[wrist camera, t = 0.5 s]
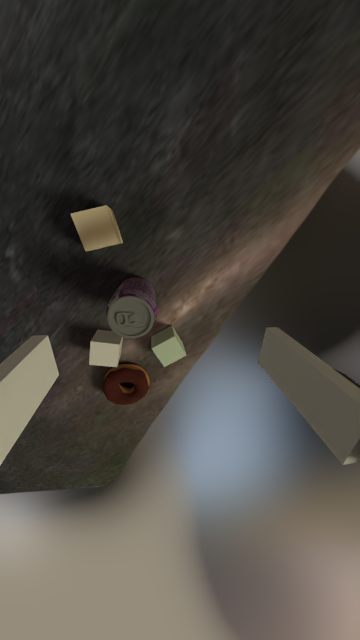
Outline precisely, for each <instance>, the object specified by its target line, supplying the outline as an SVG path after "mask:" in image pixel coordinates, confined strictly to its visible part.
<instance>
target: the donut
mask: <svg viewBox="0 0 360 640" xmlns="http://www.w3.org/2000/svg"><path fill="white" fill-rule="evenodd" d="M122 382H131V383H133V384H134V387H132V388H128V387H124V386H121V385H120V383H122ZM149 382H150V381H149V376H148V374H147V373H146V371H145V370H144V369H143V368H141V367H140V366H138V365H134V364H121V365H118V366H117V367H113V368H112V369H110V370H109V371H108V372H107V373H106V375H105V377H104V381H103V391H104V394H105V396H106V398H107V399H108V400H110V401H111V402H113V403H115V404H117V405H118V404H120V405H126V404H132V403H134V402H137V401H138V400H140V399H142V398H143V397H144V396H145V395H146V393H147V391H148V388H149Z"/></svg>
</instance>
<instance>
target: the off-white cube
mask: <svg viewBox="0 0 360 640" xmlns="http://www.w3.org/2000/svg"><path fill="white" fill-rule="evenodd" d="M122 339H123V337H121V336H119V335H118V334H116V333H115V332H114V331H107V330H99V329H98V330H97V331H96V333H95V335H94V336H93V338H92V340H91V342H90V360H89V365H98V366H109V367H117V366H118V362H119V358H120V354H121V348H122Z"/></svg>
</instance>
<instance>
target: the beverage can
mask: <svg viewBox="0 0 360 640" xmlns="http://www.w3.org/2000/svg"><path fill="white" fill-rule="evenodd" d="M156 318H157V306H156V294H155V290H154V288H153V286H152V285H151V284H150V283H149V282H148V281H147V280H145V279H143V278H139V277H132V278H128V279H126V280H124V281H123V282H122V283H121V284H120V286H119V287H118V289H117V290H116V292H115V293H114V295H113V296H112V298H111V299H110V301H109V303H108V305H107V320H108V323H109V326H110V327H111V329H112V330H113V331H114V332H115V333H116V334H118V335H119V336H121V337H124V338H130V339H133V338H139V337H141V336H144V335H145V334H147V333H148V332H149V331H150V329H151V328H152V326H153V325H154V323H155V321H156Z"/></svg>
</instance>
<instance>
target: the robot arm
mask: <svg viewBox="0 0 360 640" xmlns="http://www.w3.org/2000/svg"><path fill="white" fill-rule="evenodd" d="M258 363H259V364H260V365H261V367H262V368H263V369H264V370H265V371H266V373H267V374H268V375H269V376H270V377H271V379H272V380H273V381H274V382H275V383H276V385H277V386H278V387H279V388H280V389H281V391H282V392H283V393H284V394H285V395H286V397H287V398H288V399H289V400H290V401H291V403H292V404H293V405H294V406H295V408H296V409H297V410H298V411H299V412H300V414H301V415H302V416H303V417H304V418H305V420H306V421H307V422H308V423H309V424H310V426H311V427H312V428H313V429H314V430H315V432H316V433H317V434H318V435H319V436H320V437H321V439H322V440H323V441H324V442H325V444H326V445H327V446H328V447H329V448H330V450H331V451H332V452H333V453H334V454H335V456H336V457H337V458H338V459H339V460H340V462H341V463H342V464H350V463H355V462H360V385H358V384H357V383H355V381H353V380H352V379H350V378H349V377H348V376H346V375H345V374H343V373H341V372H339V371H337V370H335V369H333V368H331V367H330V366H329V365H327V364H326V363H325V362H323V361H322V360H321V359H319V358H318V357H316V356H315V355H314V354H313V353H311V352H310V351H308V350H307V349H306V348H304V347H303V346H302V345H300V344H299V343H298V342H296V341H295V340H294V339H292V338H291V337H290V336H288V335H287V334H286V333H284V332H283V331H282V330H280V329H279V328H277V327H276V328H275V327H274V328H266V332H265V336H264V340H263V345H262V349H261V353H260V357H259V361H258ZM58 375H59V373H58V370H57V366H56V363H55V359H54V356H53V352H52V349H51V345H50V342H49V338H48V335H43V336H32V337H31V338H30V339H28V340H27V341H26V342H25V343H24V344H23V345H21V346H20V347H19V348H18V349H17V350H16V351H15V352H13V353H12V354H11V355H10V356H9V357H8V358H7V359H5V360H4V361H3V362H2V363H1V364H0V465H1V463H2V462H3V460H4V459H5V457H6V456H7V454H8V453H9V451H10V449H11V448H12V446H13V445H14V443H15V442H16V440H17V439H18V437H19V436H20V434H21V432H22V431H23V429H24V428H25V426H26V425H27V423H28V422H29V420H30V419H31V417H32V416H33V414H34V412H35V411H36V409H37V408H38V406H39V405H40V403H41V402H42V400H43V399H44V397H45V395H46V394H47V392H48V391H49V389H50V388H51V386H52V385H53V383H54V382H55V380H56V379H57V377H58Z"/></svg>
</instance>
